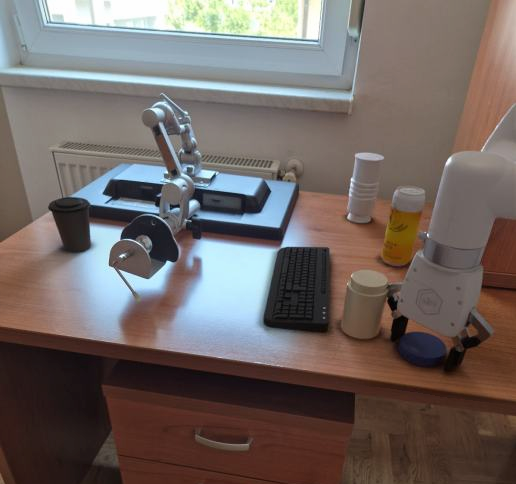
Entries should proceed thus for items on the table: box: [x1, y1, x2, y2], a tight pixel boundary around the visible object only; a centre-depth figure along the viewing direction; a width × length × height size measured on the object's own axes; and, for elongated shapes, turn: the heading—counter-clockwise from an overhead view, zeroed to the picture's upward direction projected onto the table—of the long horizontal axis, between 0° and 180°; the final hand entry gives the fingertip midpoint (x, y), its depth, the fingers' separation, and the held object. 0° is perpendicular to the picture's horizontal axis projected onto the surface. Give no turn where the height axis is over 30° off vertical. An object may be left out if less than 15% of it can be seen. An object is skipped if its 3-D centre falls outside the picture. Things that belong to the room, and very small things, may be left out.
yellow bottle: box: [380, 185, 427, 267], centre depth 96 cm, size 6×6×15 cm
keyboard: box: [262, 246, 331, 333], centre depth 90 cm, size 30×11×2 cm, turn 173°
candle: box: [346, 152, 385, 224], centre depth 115 cm, size 7×7×15 cm
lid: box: [397, 331, 448, 368], centre depth 74 cm, size 7×7×2 cm
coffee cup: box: [47, 196, 92, 253], centre depth 98 cm, size 8×8×10 cm
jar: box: [340, 269, 389, 340], centre depth 77 cm, size 6×6×9 cm
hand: (423, 351), depth 74 cm, fingers open, 9 cm apart
